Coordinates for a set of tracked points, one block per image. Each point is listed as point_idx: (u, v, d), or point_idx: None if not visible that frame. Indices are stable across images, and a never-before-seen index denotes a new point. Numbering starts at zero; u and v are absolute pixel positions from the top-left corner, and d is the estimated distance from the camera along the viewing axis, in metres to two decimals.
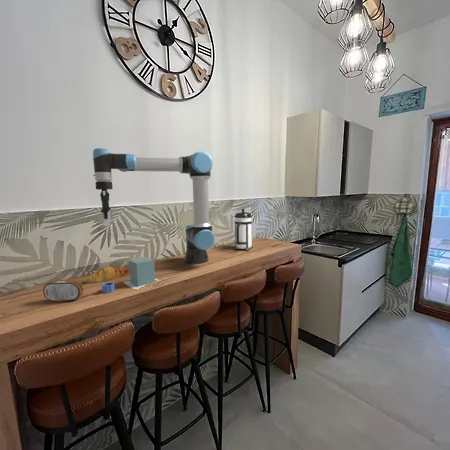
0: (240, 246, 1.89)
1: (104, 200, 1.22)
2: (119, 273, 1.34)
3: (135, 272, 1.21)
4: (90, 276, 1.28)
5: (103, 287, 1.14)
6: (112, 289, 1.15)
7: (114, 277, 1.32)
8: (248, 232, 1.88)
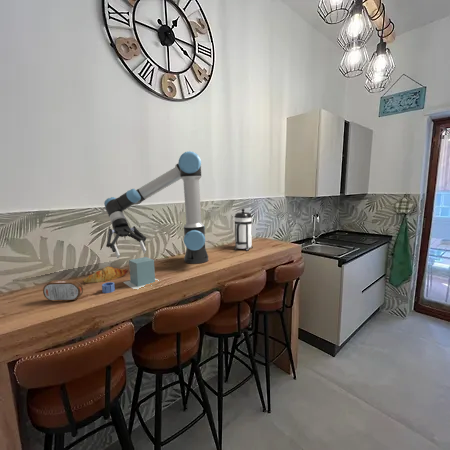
0: (240, 246, 1.89)
1: (108, 237, 1.31)
2: (119, 273, 1.34)
3: (135, 272, 1.21)
4: (90, 276, 1.28)
5: (103, 287, 1.14)
6: (112, 289, 1.15)
7: (114, 277, 1.32)
8: (248, 232, 1.88)
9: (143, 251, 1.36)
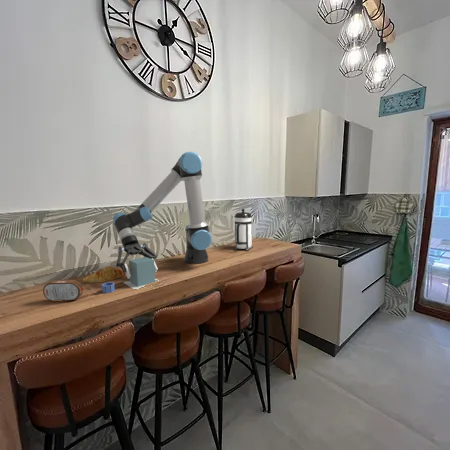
0: (240, 246, 1.89)
1: (118, 255, 1.24)
2: (119, 273, 1.34)
3: (135, 272, 1.21)
4: (90, 276, 1.28)
5: (103, 287, 1.14)
6: (112, 289, 1.15)
7: (114, 277, 1.32)
8: (248, 232, 1.88)
9: None
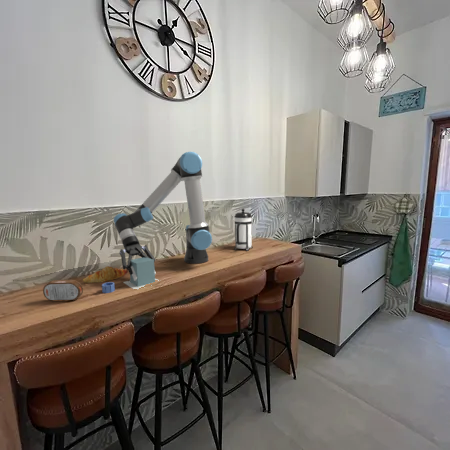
0: (240, 246, 1.89)
1: (122, 258, 1.24)
2: (119, 273, 1.34)
3: (135, 272, 1.21)
4: (90, 276, 1.28)
5: (103, 287, 1.14)
6: (112, 289, 1.15)
7: (114, 277, 1.31)
8: (248, 232, 1.88)
9: None
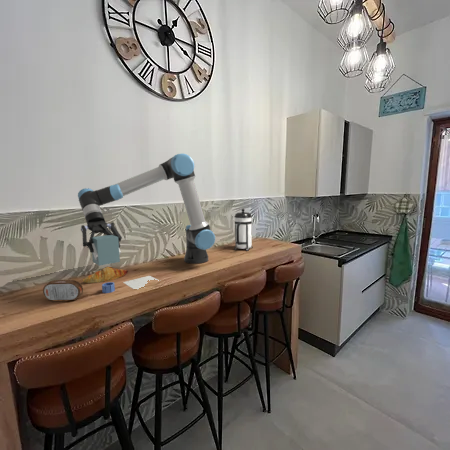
0: (240, 246, 1.89)
1: None
2: (119, 274, 1.33)
3: (96, 249, 1.09)
4: (89, 276, 1.27)
5: (103, 287, 1.14)
6: (112, 289, 1.15)
7: (113, 278, 1.31)
8: (248, 232, 1.88)
9: None
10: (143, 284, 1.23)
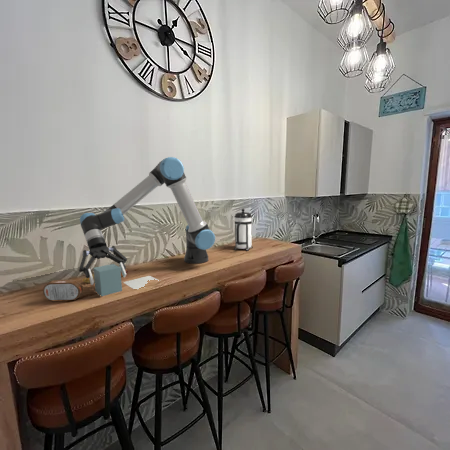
0: (240, 246, 1.89)
1: (82, 260, 1.14)
2: None
3: (99, 281, 1.11)
4: None
5: None
6: None
7: None
8: (248, 232, 1.88)
9: (123, 275, 1.19)
10: (143, 284, 1.23)
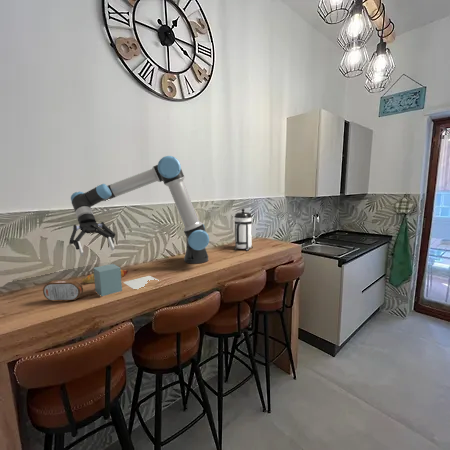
0: (240, 246, 1.89)
1: (72, 233, 1.22)
2: None
3: (99, 281, 1.11)
4: (89, 276, 1.27)
5: None
6: None
7: None
8: (248, 232, 1.88)
9: (111, 248, 1.27)
10: (143, 284, 1.23)
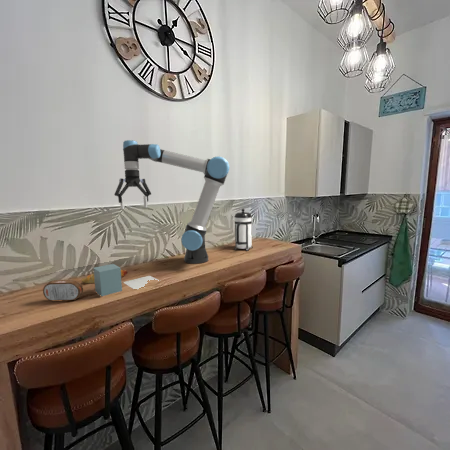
0: (240, 246, 1.89)
1: (118, 186, 1.41)
2: None
3: (99, 281, 1.11)
4: (88, 276, 1.27)
5: None
6: None
7: None
8: (248, 232, 1.88)
9: (144, 206, 1.52)
10: (143, 284, 1.23)
